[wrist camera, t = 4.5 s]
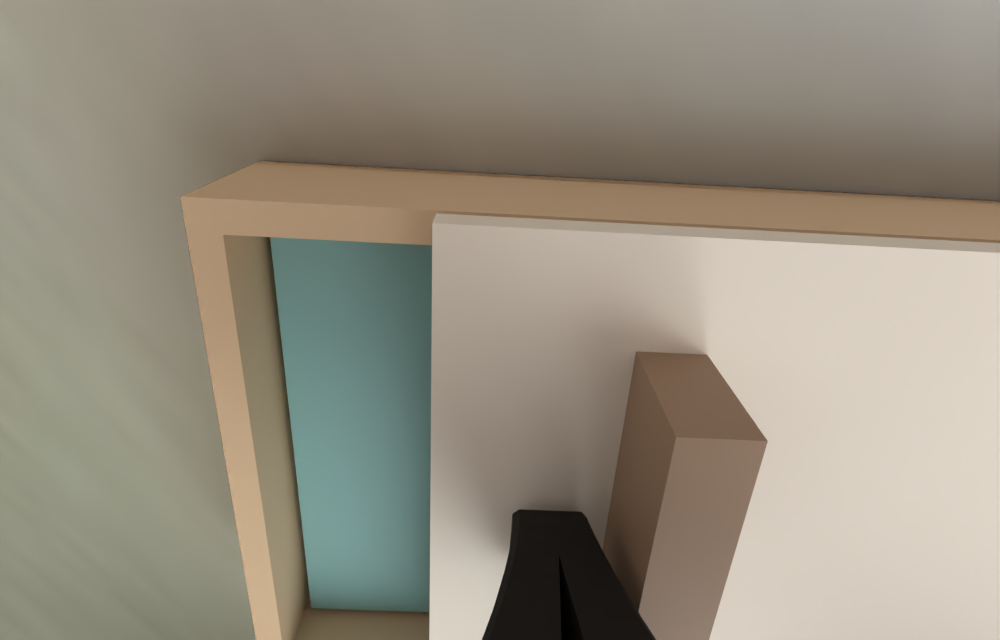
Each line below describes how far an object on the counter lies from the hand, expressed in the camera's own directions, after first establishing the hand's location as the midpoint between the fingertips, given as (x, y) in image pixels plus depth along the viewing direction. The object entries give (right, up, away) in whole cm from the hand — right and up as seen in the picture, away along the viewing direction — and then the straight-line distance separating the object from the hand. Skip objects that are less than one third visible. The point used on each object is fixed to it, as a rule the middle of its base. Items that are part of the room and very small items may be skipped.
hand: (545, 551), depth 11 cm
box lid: (+8, 0, +1) cm, 8 cm away
